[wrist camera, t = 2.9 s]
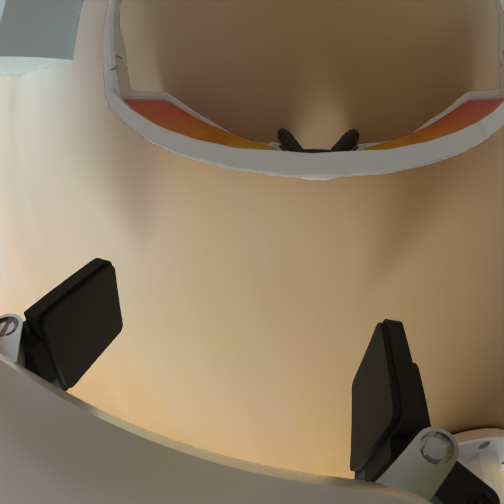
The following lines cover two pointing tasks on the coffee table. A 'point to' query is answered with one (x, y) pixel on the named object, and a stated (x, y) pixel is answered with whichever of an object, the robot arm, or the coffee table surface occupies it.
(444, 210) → the coffee table surface
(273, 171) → the sunglasses
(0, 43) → the ceramic cube
